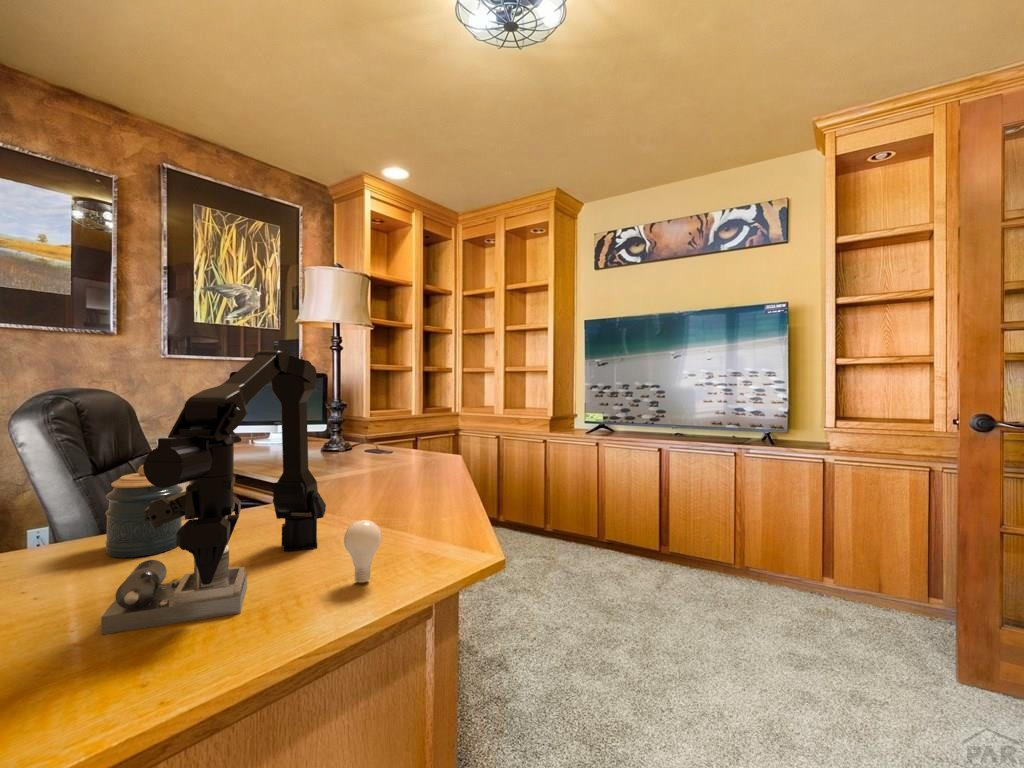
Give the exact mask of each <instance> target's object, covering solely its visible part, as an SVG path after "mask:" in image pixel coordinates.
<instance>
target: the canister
mask: <svg viewBox="0 0 1024 768" xmlns="http://www.w3.org/2000/svg"><path fill="white" fill-rule="evenodd" d="M110 486H111V487H113V490H112V491H110V492H108V493H107V494H106V495H105V499H106V500H108V502H109V503H108V509H107V510H106V511H105V515H106V540H105V550H106V555H108V556H109V557H110V558H111V557H113V558H117V559H119V558H120V559H121V558H122V559H123V558H125V559H126V558H127V557H131V558H140V557H139V556H141V557H147V556H151V555H157V554H160V553H165V552H167V551H170V550H173V549H175V548H176V547H177V548H178V546H176V533H177V532H178V531H179V529H180V528H181V527H182V526H183V525H182V522H183V521H182V520H183V518H182V517H183V516H182V517H180V518H177V519H175V520H172V521H169V522H167V523H164V524H163V525H162V526H160V527H158V528H154V529H153V528H152V526H151V524H150V522H147V521H145V517H146V514H145V509H146V508H147V507H148V506H149V505H150V503H151V502H152V501H154V500H155V501H156V500H159V499H160V498H162V497H165V498H168V497H170V496H173V495H176V494H179V493H181V492H184V488H183V487H182V486H180V484H178V485H174V486H171V487H166V488H160V487H156V486H154V485H152V484H151V483H150V482H149V481H148V480H147V478H146V477H145V474H144V470H143V464H141V465H140V466H139V467H138V469H137V473H135V472H134V473H129V474H124V475H121V476H120V477H119V478H118V479H116V480H115V481H113V482H111V485H110ZM146 555H147V556H146Z"/></svg>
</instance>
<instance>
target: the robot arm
mask: <svg viewBox="0 0 1024 768" xmlns="http://www.w3.org/2000/svg"><path fill="white" fill-rule="evenodd" d="M317 376H318V375H317V369H316V367H315V366H314V365H312V363H311V362H310V360H306V359H302V358H299V357H296V356H293V355H289V354H288V353H287V352H285V351H283V350H273V349H272V350H266V349H265V350H259V351H258V352H257V351H256V352H255V354H254V357H253V358H252V359H251V360H249V361H248V362H247V363H246V364H245V365H244V366H242V367H241V368H240V369H238V371H236V372H235V373H234V374H233V375H231V376H230V377H229V378H228V379H227V380H226V381H224V382H223V383H221V384H220V385H216V386H214V387H210V388H206V389H203V390H201V391H199V392H197V393H194V394H193V395H192V396H189V398H188V399H187V400H186V401H185V402H184V406H183V408H182V410H181V412H180V413H179V416H178V417H177V419H176V421H175V423H174V425H173V427H172V428H171V430H170V432H169V434H168V435H167V437H160V438H158V439H157V447H155V448H154V449H152V450H151V451H150V452H149V453H148V454H147V456H146V458H145V459H144V462H143V464H142V465H143V470H144V474H145V477H146V478H147V480H148V481H149V482H150V483H151V484H152V485H154V486H156V487H160V488H166V487H171V486H174V485H181V484H185V483H188V482H190V483H189V484H188V485H186V487H185V490H184V491H182V492H181V493H179V494H176V495H173V496H170V497H168V498H165V497H162V498H160V499H159V500H156V501H155V500H154V501H152V502H151V503H150V505H149V506H148V507H147V508H146V509H145V514H146V517H145V521H147V522H150V524H151V526H152V528H153V529H154V528H158V527H160V526H162V525H163V524H164V523H167V522H169V521H172V520H175V519H177V518H180V517H184V520H186V522H185V523H184V524H183V525H182V527H181V528H180V529H179V531H178V532H177V533H176V546H177V548H180V550H182V551H186V552H188V553H190V554H192V556H193V560H194V559H195V562H196V565H197V568H198V572H199V575H200V578H201V581H202V584H203V585H206V584H211V582H212V580H213V577H214V575H215V572H216V570H217V567H218V565H219V562H220V560H221V558H222V555H223V553H224V550H225V548H226V545H229V542H230V539H231V536H232V535H233V533H234V530H235V527H236V525H237V522H238V521H239V518H240V513H241V511H242V508H241V505H242V504H241V503H242V501H241V500H240V499H239V498H238V497H237V496H236V495H234V486H235V484H236V476H234V466H235V465H234V464H235V463H234V457H235V456H234V451H235V450H234V449H235V445H234V444H237V443H241V442H242V438H241V437H240V436H239V434H237V433H235V430H236V429H237V428H238V426H240V425H241V423H242V422H243V420H244V418H245V417H246V415H248V410H247V409H248V408H247V405H248V404H249V402H251V400H252V399H254V397H255V396H256V395H257V394H258V393H259V392H261V391H262V390H263V389H264V387H266V386H267V385H268V384H269V383H271V391H272V392H273V394H274V396H275V397H276V398H277V399H278V401H279V403H280V406H281V407H280V408H281V409H280V410H281V412H280V413H281V446H282V447H281V448H282V451H281V452H282V474H281V475H280V477H279V478H278V480H277V481H276V482H274V483H273V485H272V493H273V495H272V497H273V498H272V503H273V507H274V512H275V516H276V519H277V520H280V519H284V523H282V524H281V547H283V551H284V552H290V551H292V552H293V551H299V550H300V551H301V550H308V549H316V548H318V537H317V536H318V534H317V533H318V528H317V527H318V519H323V518H324V516H325V513H326V508H327V505H326V502H325V501H324V499H323V498H322V496H321V494H320V492H319V490H318V481H317V480H316V479H317V478H315V476H314V475H313V474H312V473H311V471H310V469H309V448H308V447H309V443H308V442H309V441H308V401H309V400H310V398H311V395H312V394H313V392H314V391H315V389H316V388H315V387H316V380H317ZM233 512H234V514H233Z"/></svg>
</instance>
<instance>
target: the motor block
mask: <svg viewBox="0 0 1024 768" xmlns="http://www.w3.org/2000/svg"><path fill="white" fill-rule="evenodd" d="M167 573H168V571H167V567H166V565H165V564H164V563H163V562H162V561H160V560H157V559H148V560H145V561H142V562H141V563H139V564H138V565H136V567H135V568H134V569H133V571H132V572H131V573H130V574H129V575H128V576H127V577H126V578H125V580H124V581H122V583H121V584H120V585H119V587H117V589H116V591H115V599H114V601H113V602H112V603H111V605H110V606H109V607H108V608H107V609H106V610H105V612H104V613H103V614H102V615H101V616H100V622H101V623H100V624H101V625H100V628H101V629H100V634H101V636H102V635H107V634H109V635H110V634H113V633H114V634H115V633H120V632H127V631H134V630H140V629H141V630H142V629H146V628H152V627H161V626H166V625H173V624H179V623H185V622H192V621H199V620H206V619H212V618H219V617H225V616H226V617H227V616H233V615H239V614H241V611H242V608H243V605H244V601H245V596H246V592H247V590H248V573H247V572H246V566H242V567H241V566H235V567H229V585H226V586H218V587H211V588H203V589H196V590H194V571H193V572H192V571H191V573H185V574H184V575H183V577H182V578H181V579H174V580H172V581H171V582H167V583H163V582H164V580H165V579H166V577H167Z"/></svg>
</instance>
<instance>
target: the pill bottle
mask: <svg viewBox="0 0 1024 768" xmlns="http://www.w3.org/2000/svg"><path fill="white" fill-rule="evenodd" d="M229 568H230V547H229V544H227V545H226V548H225V550H224V553H223V555H222V558H221V560H220V562H219V565H218V567H217V570H216V572H215V575H214V577H213V580H212V582H211V584H206V585H203V584H202V581H201V578H200V575H199V572H198V568H197V565H196V562H195V559H194V558H193V572H194V590H196V589H203V588H211V587H218V586H226V585H229Z"/></svg>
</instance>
